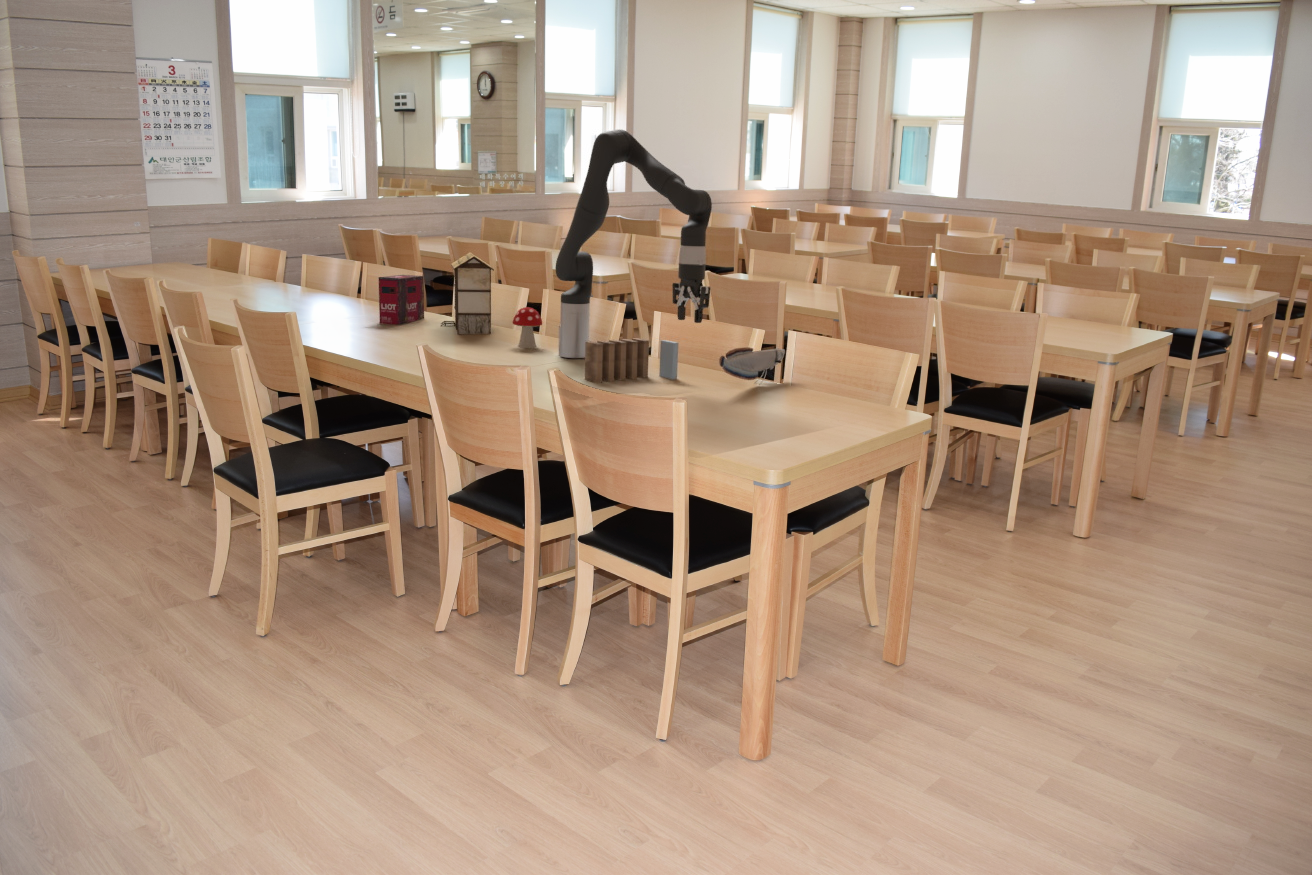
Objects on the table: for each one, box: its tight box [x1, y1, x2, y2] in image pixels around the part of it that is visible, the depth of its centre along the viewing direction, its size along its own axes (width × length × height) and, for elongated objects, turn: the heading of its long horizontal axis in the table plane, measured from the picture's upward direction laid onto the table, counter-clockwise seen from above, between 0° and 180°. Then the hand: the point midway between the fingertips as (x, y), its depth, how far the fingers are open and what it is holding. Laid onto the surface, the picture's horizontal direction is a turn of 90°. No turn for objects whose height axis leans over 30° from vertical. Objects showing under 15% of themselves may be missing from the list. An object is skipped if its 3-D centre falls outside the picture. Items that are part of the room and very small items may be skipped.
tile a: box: [631, 337, 650, 378], centre depth 298 cm, size 6×2×11 cm, turn 39°
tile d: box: [596, 340, 615, 382], centre depth 290 cm, size 6×2×11 cm, turn 39°
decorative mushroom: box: [512, 306, 543, 349], centre depth 336 cm, size 10×9×15 cm
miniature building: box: [440, 252, 495, 335], centre depth 365 cm, size 25×19×30 cm
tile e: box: [584, 340, 603, 384], centre depth 288 cm, size 6×2×11 cm, turn 39°
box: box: [378, 274, 425, 326], centre depth 379 cm, size 16×9×20 cm, turn 162°
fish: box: [718, 347, 786, 386], centre depth 288 cm, size 34×7×12 cm, turn 137°
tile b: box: [619, 338, 638, 380], centre depth 296 cm, size 6×2×11 cm, turn 39°
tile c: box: [608, 339, 626, 381], centre depth 293 cm, size 6×2×11 cm, turn 39°
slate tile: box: [659, 339, 679, 381], centre depth 296 cm, size 6×2×11 cm, turn 39°
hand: (689, 321), depth 287 cm, fingers open, 6 cm apart
